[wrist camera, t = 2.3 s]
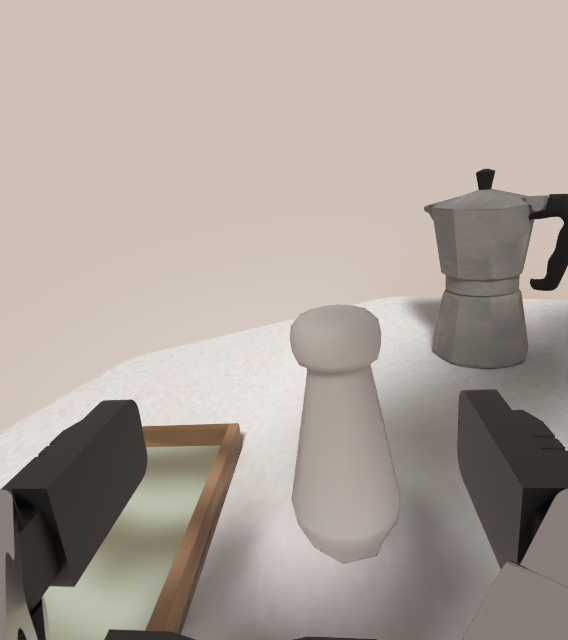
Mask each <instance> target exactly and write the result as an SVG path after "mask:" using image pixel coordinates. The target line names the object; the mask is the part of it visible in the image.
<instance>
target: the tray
mask: <svg viewBox="0 0 568 640" xmlns="http://www.w3.org/2000/svg"><path fill="white" fill-rule="evenodd" d="M142 430H143V435H144V440H145V445H146V449H147V457H148V461H147V469H146V473H145V476H144V478H143V480H142V481H141V483H140V484H139V486H138V488H137V489H136V491H135V492H134V494H133V495H132V497H131V499H130V500H129V502H128V503H127V505H126V507H125V508H124V510H123V511H122V513H121V514H120V516H119V518H118V519H117V521H116V522H115V524H114V525H113V527H112V529H111V530H110V532H109V533H108V535H107V537H106V538H105V540H104V541H103V543H102V544H101V546H100V548H99V549H98V551H97V552H96V554H95V556H94V557H93V559H92V560H91V562H90V563H89V565H88V567H87V568H86V570H85V571H84V573H83V574H82V576H81V578H80V579H79V581H78V582H77V584H76V586H75V587H58V586H49V588H48V589H47V591H46V592H45V594H44V595H43V597H44V600H45V603H46V607H47V614H48V623H49V632H50V640H104V639H105V637H106V635H107V633H108V631H109V629H115V630H142V631H169V632H174V633H177V634H180V633H181V630H182V627H183V624H184V621H185V618H186V615H187V612H188V609H189V606H190V603H191V600H192V597H193V594H194V591H195V588H196V585H197V582H198V579H199V576H200V573H201V569H202V566H203V563H204V560H205V557H206V554H207V551H208V548H209V545H210V542H211V539H212V536H213V533H214V530H215V527H216V524H217V521H218V518H219V515H220V512H221V509H222V506H223V503H224V500H225V497H226V494H227V491H228V488H229V485H230V482H231V479H232V476H233V473H234V470H235V467H236V464H237V461H238V458H239V454H240V451H241V448H242V442H241V435H240V428H239V423H235V424H205V425H174V426H144V427H142Z"/></svg>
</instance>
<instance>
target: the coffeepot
mask: <svg viewBox="0 0 568 640" xmlns="http://www.w3.org/2000/svg"><path fill="white" fill-rule="evenodd" d="M494 174H495V171H494V170H491V169H483V170H481V171H478V172H477V173H476V176H477V182H478V187H479V190H478V191H475V192H472V193H469V194H466V195H463V196H460V197H456V198H452V199H449V200H445V201H442V202H438V203H434V204H431V205H428V206H425V207H424V210H425V211H426V212H428V213H429V214H430V215H431V217H432V219H433V221H434V226H435V233H436V239H437V246H438V253H439V259H440V266H441V272H442V273H443V274H445V275H446V290H445V291H444V293H443V296H442V302H441V307H440V312H439V318H438V323H437V329H436V334H435V339H434V345H433V351H434V352H435V353H436V354H437V355H438V356H439V357H440V358H442V359H443V360H445V361H447V362H450V363H452V364H456V365H459V366H464V367H470V368H480V369H494V368H504V367H509V366H513V365H516V364H518V363H520V362H522V361H524V360H525V357H526V353H527V349H528V342H527V334H526V326H525V318H524V310H523V302H522V294H521V291H520V290H519V275H520V274H521V273H522V271H523V268H524V264H525V259H526V255H527V250H528V246H529V241H530V237H531V232H532V227H533V222H534V219H542V218H548V217H561V218H562V220H563V221H564V225H563V227H562V229H561V230H560V232H559V236H558V239H557V244H556V248H555V251H554V253H553V254H552V255H551V257H550V259H549V260H548V266H547V274H546V276H545V278H544V279H531V280H530V284H531V287H532V288H533V289H535V290H542V291H551V290H554V289H556V288H557V287H558V285H559V283H560V281H561V279H562V277H563V275H564V273H565V270H566V268H567V266H568V194H550V195H549V196H525V195H520V194H515V193H510V192H504V191H499V190H494V189H491V187H492V183H493V178H494Z"/></svg>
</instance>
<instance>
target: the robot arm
mask: <svg viewBox="0 0 568 640" xmlns="http://www.w3.org/2000/svg"><path fill="white" fill-rule="evenodd" d="M457 452H458V463H459V468H460V473H461V476H462V478H463V481H464V483H465V486H466V488H467V490H468V493H469V495H470V497H471V500H472V502H473V504H474V507H475V509H476V511H477V514H478V516H479V519H480V521H481V523H482V526H483V528H484V530H485V533H486V535H487V537H488V540H489V542H490V545H491V547H492V549H493V552H494V554H495V556H496V559H497V561H498V563H499V566H500V568H501V571H500V573H499V575H498V576H497V578H496V580H495V582H494V583H493V585H492V587H491V589H490V591H489V592H488V594H487V596H486V598H485V600H484V601H483V603H482V605H481V607H480V609H479V610H478V612H477V614H476V616H475V618H474V619H473V621H472V623H471V625H470V627H469V628H468V630H467V632H466V634H465V635H464V637H463V639H462V640H568V451H565V447H564V446H563V445H562V444H561V442H560V441H559V440H558V439H555V435H554V434H553V433H552V432H551V431H550V430H549V428H548V427H547V426H546V425H545V424H544V422H543V421H541V420H539V419H537V418H536V417H534V416H532V415H531V414H529V413H527V412H525V411H524V410H511V408H510V407H509V406H508V404H507V403H506V402H505V400H504V399H503V398H502V397H501V395H500V394H499V393H498V391H497V390H462V391H461V392H460V396H459V412H458V446H457ZM147 461H148V457H147V449H146V445H145V440H144V435H143V430H142V425H141V420H140V415H139V410H138V406H137V404H136V403H135V401H133V400H105V401H102V402H100V403H99V404H98V405H97V406H96V407H95V408H94V409H93V410H92V411H91V412H90V413H89V414H88V415H87V416H86V417H85V418H84V419H83V420H81V421H80V422H78V423H76V424H74V425H73V426H71V427H69V428H67V429H66V430H64V431H63V432H61V433H60V434H59V435H58V436H57V437H56V438H55V439H54V440H53V441H52V442H51V443H50V446H47V447H45V448H44V449H43V450H42V451H41V452H40V453H39V454H38V457H35V458H34V459H33V460H32V461H31V462H29V463H28V464H27V465H26V466H25V467H24V468H23V469H22V470H21V471H20V472H19V473H18V474H17V475H16V476H15V477H14V478H12V479H11V480H10V481H9V482H8V483H7V484H6V485H5V486H4V487H3V488H2V489H0V640H50V632H49V623H48V614H47V607H46V603H45V600H44V597H43V595H44V594H45V592H46V591H47V589H48V588H49V586H58V587H75V586H76V584H77V582H78V581H79V579H80V578H81V576H82V574H83V573H84V571H85V570H86V568H87V567H88V565H89V563H90V562H91V560H92V559H93V557H94V556H95V554H96V552H97V551H98V549H99V548H100V546H101V544H102V543H103V541H104V540H105V538H106V537H107V535H108V533H109V532H110V530H111V529H112V527H113V525H114V524H115V522H116V521H117V519H118V518H119V516H120V514H121V513H122V511H123V510H124V508H125V507H126V505H127V503H128V502H129V500H130V499H131V497H132V495H133V494H134V492H135V491H136V489H137V488H138V486H139V484H140V483H141V481H142V480H143V478H144V476H145V473H146V469H147ZM104 640H195V639H192V638H189V637H186V636H183V635H180V634H177V633H174V632H169V631H142V630H115V629H109V631H108V633H107V635H106V637H105V639H104ZM294 640H377V639H356V638H329V637H303V638H299V639H294Z"/></svg>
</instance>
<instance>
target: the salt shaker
mask: <svg viewBox="0 0 568 640" xmlns="http://www.w3.org/2000/svg"><path fill="white" fill-rule="evenodd" d="M290 342H291V348H292V352H293V354H294V356H295V358H296V360H297V362H298V364H299V365H301V366H303V367H306V368H307V378H306V387H305V395H304V403H303V411H302V420H301V428H300V436H299V444H298V452H297V460H296V469H295V477H294V485H293V493H292V503H293V507H294V510H295V514H296V518H297V521H298V524H299V525H300V527H301V528H302V530H303V531H304V533H305V534H306V535H307V537H308V538H309V540H310V541H311V542H312V544H313V545H314V547H315V548H317V549H318V550H320V551H322V552H324V553H325V554H327V555H329V556H331V557H332V558H334V559H336V560H338V561H339V562H341V563H347V562H352V561H356V560H360V559H364V558H369V557H373V556H376V555H377V553H378V551H379V549H380V546H381V544H382V542H383V540H384V539H385V537H386V536H387V534H388V533H389V531H390V530H391V529H392V527H393V526H394V524H395V523H396V521H397V520H398V515H399V503H400V492H399V488H398V483H397V479H396V475H395V470H394V466H393V461H392V457H391V453H390V448H389V444H388V439H387V435H386V430H385V426H384V422H383V417H382V413H381V408H380V404H379V400H378V395H377V391H376V386H375V382H374V378H373V373H372V369H371V363H372V362H373V361H375V360H376V359H377V358H378V354H379V351H380V346H381V330H380V326H379V321H378V319H377V318H376V317H375V316H374V315H373V314H372V313H371V312H369V311H368V310H366V309H365V308H361V307H357V306H350V305H331V306H324V307H319V308H315V309H311V310H309V311H307V312H304V313H302V314H301V315H300V316H299V317H298V318H297V319H296V320H295V321H294V323H293V324H292V326H291V333H290Z"/></svg>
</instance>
